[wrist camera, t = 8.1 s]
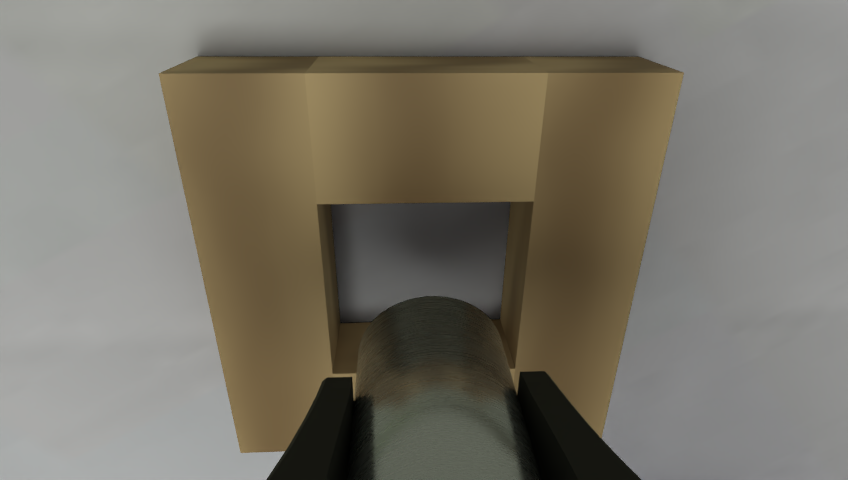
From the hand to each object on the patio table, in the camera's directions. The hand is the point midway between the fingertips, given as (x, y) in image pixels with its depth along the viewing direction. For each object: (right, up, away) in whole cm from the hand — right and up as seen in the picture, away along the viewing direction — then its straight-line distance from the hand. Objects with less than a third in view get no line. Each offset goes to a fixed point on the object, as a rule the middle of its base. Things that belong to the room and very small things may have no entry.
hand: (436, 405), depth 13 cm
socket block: (0, +4, +7) cm, 8 cm away
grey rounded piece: (0, +1, +2) cm, 2 cm away
